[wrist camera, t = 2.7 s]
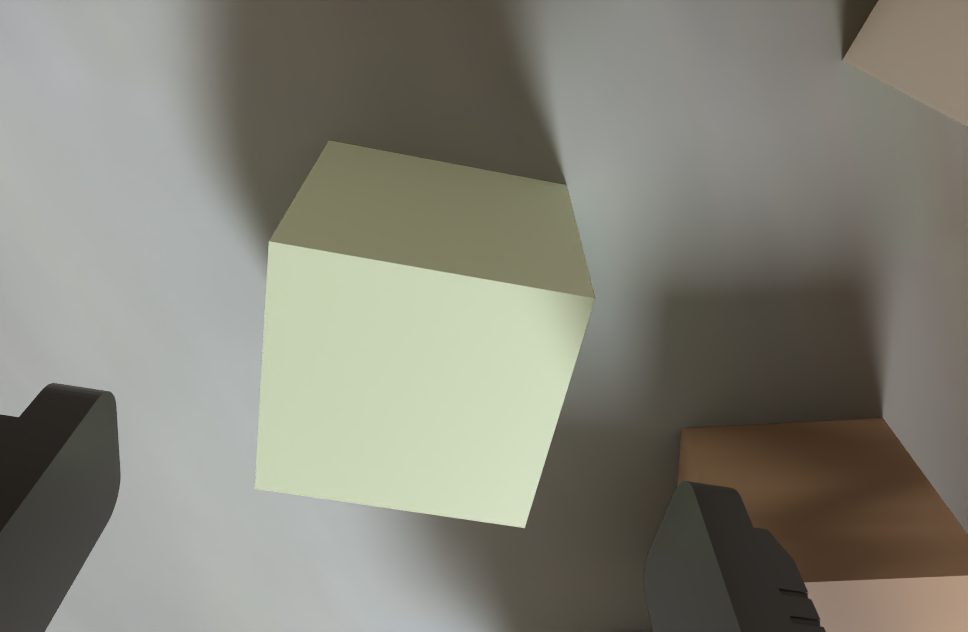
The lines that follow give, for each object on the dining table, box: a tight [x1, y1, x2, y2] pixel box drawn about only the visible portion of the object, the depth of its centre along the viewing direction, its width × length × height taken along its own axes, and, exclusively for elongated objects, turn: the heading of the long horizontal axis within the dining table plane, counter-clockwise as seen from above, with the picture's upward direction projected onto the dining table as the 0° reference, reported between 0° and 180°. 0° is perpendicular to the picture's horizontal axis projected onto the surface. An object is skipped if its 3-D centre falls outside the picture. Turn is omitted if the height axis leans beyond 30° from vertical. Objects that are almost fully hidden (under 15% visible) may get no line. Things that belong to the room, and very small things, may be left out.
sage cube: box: [255, 140, 595, 528], centre depth 15 cm, size 5×5×5 cm
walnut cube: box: [677, 418, 968, 632], centre depth 18 cm, size 5×5×5 cm
